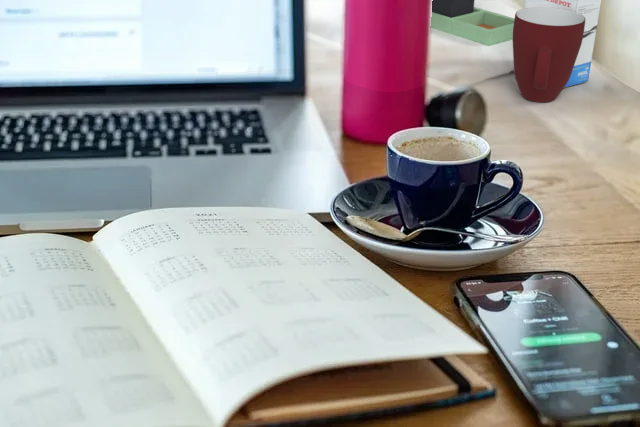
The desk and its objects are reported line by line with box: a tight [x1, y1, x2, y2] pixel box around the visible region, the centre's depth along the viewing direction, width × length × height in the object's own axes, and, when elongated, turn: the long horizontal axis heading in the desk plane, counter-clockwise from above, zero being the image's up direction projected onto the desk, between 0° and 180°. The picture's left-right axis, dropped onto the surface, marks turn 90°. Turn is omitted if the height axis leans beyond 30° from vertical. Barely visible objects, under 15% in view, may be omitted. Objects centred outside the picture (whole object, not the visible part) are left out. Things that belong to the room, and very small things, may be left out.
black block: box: [432, 0, 475, 18], centre depth 132 cm, size 5×5×4 cm
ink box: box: [523, 0, 602, 89], centre depth 111 cm, size 8×5×12 cm, turn 34°
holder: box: [430, 6, 515, 47], centre depth 131 cm, size 15×8×3 cm, turn 40°
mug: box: [512, 7, 585, 103], centre depth 104 cm, size 10×8×10 cm
